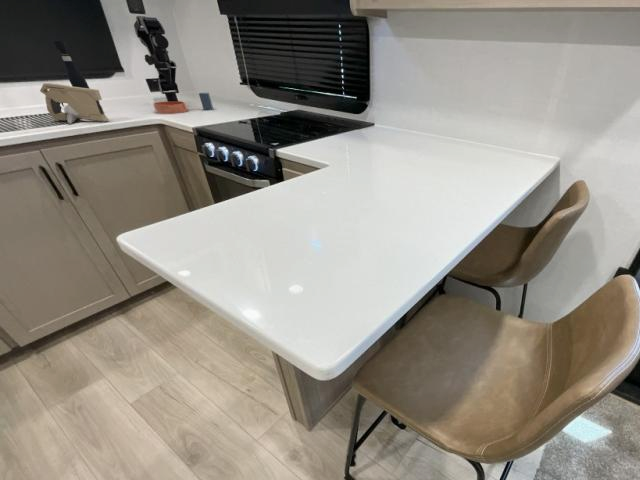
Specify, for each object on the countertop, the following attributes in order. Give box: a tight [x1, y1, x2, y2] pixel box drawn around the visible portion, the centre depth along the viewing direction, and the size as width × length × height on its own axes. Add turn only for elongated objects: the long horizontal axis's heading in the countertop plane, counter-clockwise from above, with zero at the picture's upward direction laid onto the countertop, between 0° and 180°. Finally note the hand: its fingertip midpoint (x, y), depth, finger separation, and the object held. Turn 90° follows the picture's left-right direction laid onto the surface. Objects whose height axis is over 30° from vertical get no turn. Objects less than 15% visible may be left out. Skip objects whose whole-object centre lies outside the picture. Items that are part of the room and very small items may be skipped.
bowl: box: [152, 100, 188, 115], centre depth 179 cm, size 15×15×4 cm
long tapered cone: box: [63, 104, 79, 125], centre depth 155 cm, size 6×6×19 cm
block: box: [198, 92, 214, 111], centre depth 185 cm, size 4×4×8 cm
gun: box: [39, 82, 110, 123], centre depth 151 cm, size 24×3×15 cm, turn 92°
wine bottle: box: [52, 40, 91, 89], centre depth 163 cm, size 6×6×30 cm
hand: (172, 83), depth 182 cm, fingers open, 9 cm apart
